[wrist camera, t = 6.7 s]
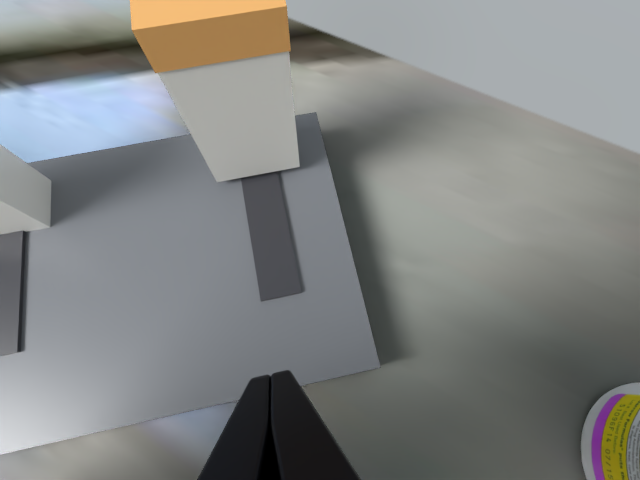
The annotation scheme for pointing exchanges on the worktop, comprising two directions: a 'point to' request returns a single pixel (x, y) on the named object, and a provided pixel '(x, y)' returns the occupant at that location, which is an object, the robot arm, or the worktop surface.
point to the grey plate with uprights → (167, 285)
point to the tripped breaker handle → (226, 78)
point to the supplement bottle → (613, 436)
